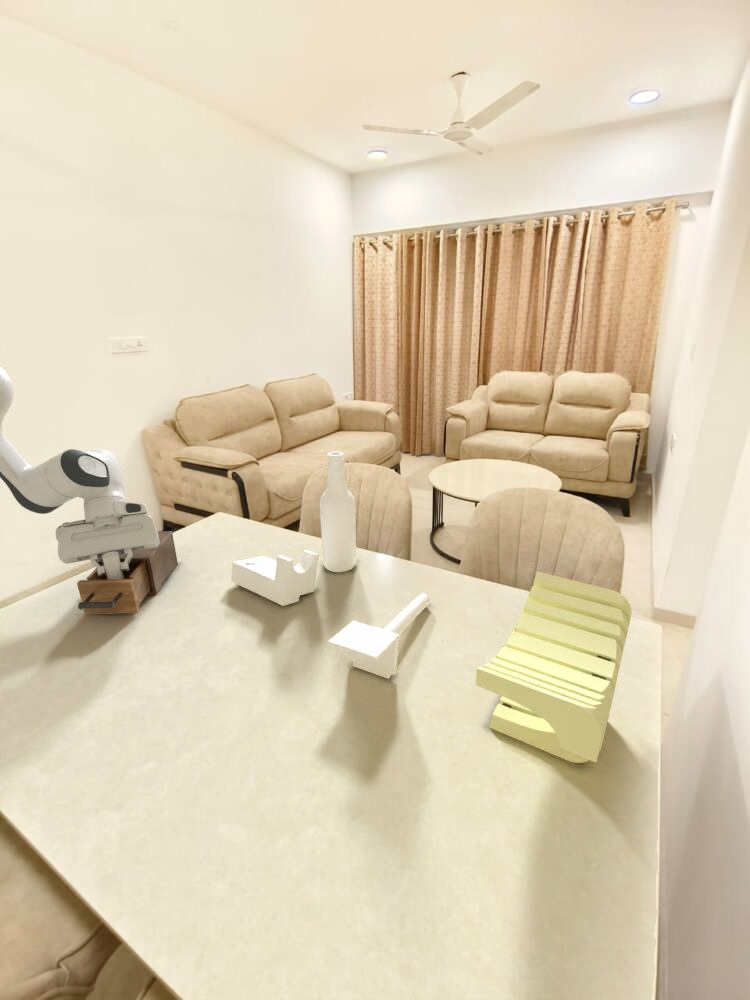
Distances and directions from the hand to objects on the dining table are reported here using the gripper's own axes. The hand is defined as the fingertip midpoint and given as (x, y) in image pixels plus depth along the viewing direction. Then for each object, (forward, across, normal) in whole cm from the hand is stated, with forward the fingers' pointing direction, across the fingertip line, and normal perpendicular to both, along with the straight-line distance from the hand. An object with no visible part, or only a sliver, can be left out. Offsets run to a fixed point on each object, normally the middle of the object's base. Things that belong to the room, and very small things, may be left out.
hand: (114, 572), depth 110 cm
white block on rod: (+33, +50, -21) cm, 63 cm away
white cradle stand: (+11, +34, +2) cm, 36 cm away
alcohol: (+8, +52, +4) cm, 52 cm away
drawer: (+5, 0, +6) cm, 8 cm away
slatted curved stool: (+53, +64, -40) cm, 93 cm away
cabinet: (-2, +4, +14) cm, 15 cm away
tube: (+3, 0, +4) cm, 5 cm away
